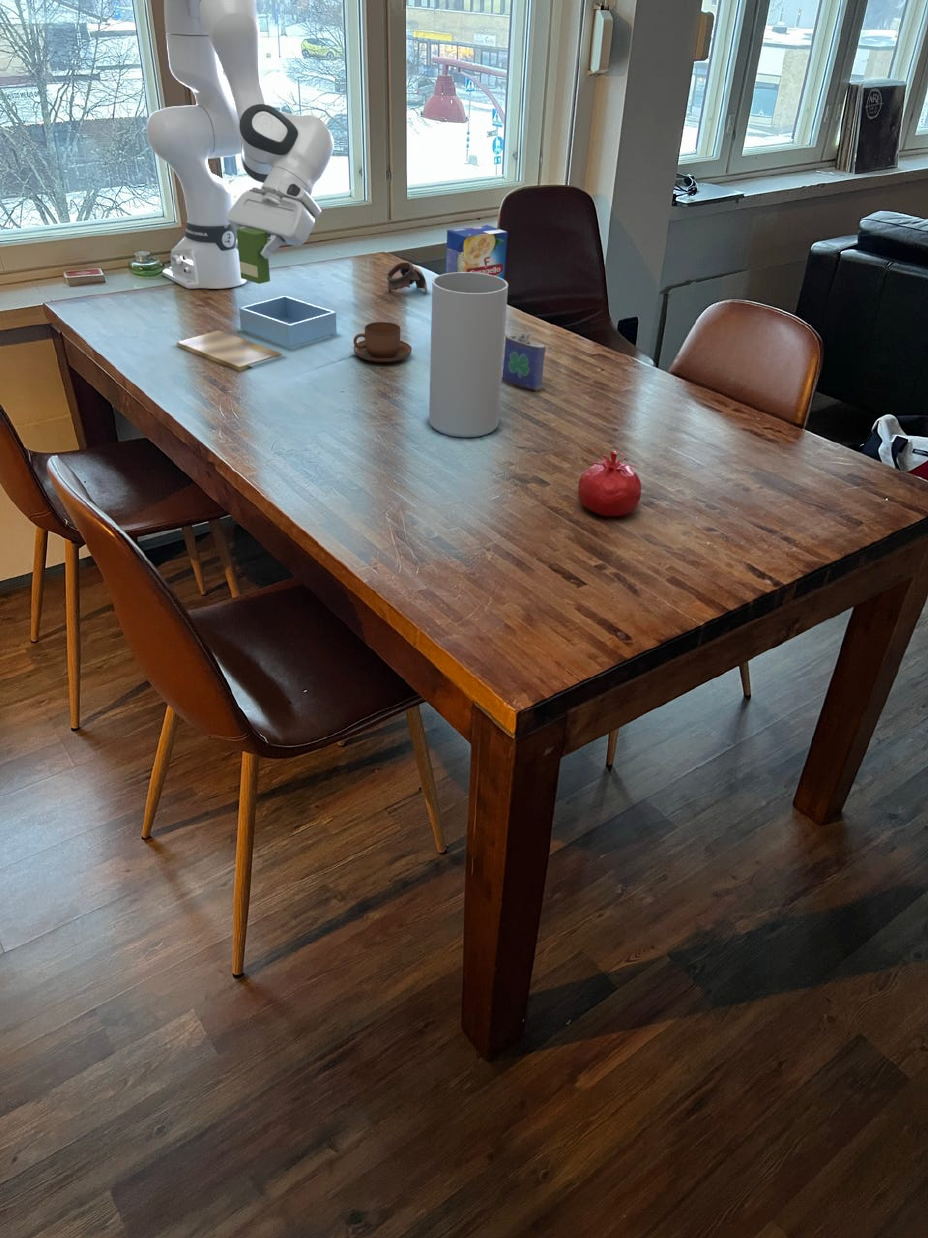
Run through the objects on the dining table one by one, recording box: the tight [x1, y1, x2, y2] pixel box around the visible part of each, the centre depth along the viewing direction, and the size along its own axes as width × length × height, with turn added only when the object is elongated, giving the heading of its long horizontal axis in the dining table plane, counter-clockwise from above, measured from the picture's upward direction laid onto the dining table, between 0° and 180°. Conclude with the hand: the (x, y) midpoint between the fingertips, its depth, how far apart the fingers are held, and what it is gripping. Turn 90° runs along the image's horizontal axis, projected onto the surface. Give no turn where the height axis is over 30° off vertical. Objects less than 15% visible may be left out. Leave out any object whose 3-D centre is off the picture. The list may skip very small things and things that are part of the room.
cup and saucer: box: [352, 321, 412, 363], centre depth 192 cm, size 12×12×6 cm
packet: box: [236, 227, 271, 285], centre depth 187 cm, size 6×3×10 cm, turn 51°
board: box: [176, 330, 283, 372], centre depth 192 cm, size 20×11×1 cm, turn 51°
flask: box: [501, 331, 546, 393], centre depth 181 cm, size 9×3×11 cm, turn 50°
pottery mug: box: [386, 260, 429, 295], centre depth 232 cm, size 12×10×8 cm
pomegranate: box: [577, 450, 642, 518], centre depth 141 cm, size 10×10×9 cm
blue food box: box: [445, 224, 508, 280], centre depth 202 cm, size 7×11×22 cm, turn 127°
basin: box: [238, 295, 338, 348], centre depth 201 cm, size 16×13×5 cm
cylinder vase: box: [428, 272, 509, 438], centre depth 160 cm, size 12×12×25 cm
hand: (250, 253), depth 187 cm, fingers closed on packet, 5 cm apart
